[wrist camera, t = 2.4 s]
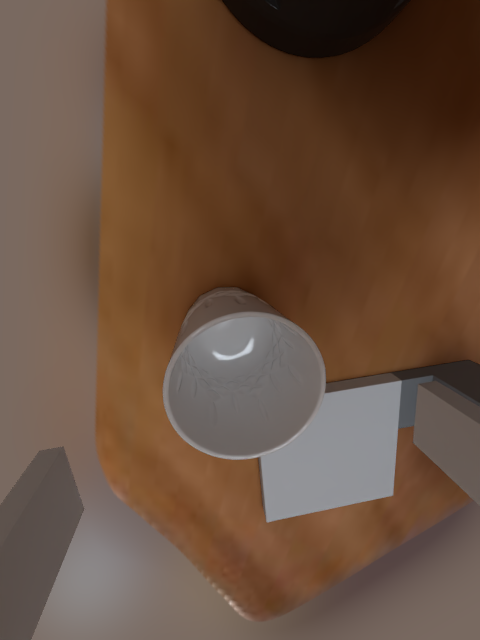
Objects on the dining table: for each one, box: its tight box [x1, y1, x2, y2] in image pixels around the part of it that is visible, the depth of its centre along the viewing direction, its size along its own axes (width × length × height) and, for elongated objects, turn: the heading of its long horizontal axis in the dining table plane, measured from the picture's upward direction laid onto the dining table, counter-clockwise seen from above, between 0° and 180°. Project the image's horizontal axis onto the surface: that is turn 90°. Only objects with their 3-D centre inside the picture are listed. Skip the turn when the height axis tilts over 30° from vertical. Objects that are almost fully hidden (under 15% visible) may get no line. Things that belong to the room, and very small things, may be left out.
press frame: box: [258, 360, 480, 522], centre depth 21 cm, size 13×21×16 cm, turn 95°
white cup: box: [163, 287, 326, 460], centre depth 19 cm, size 8×8×10 cm
